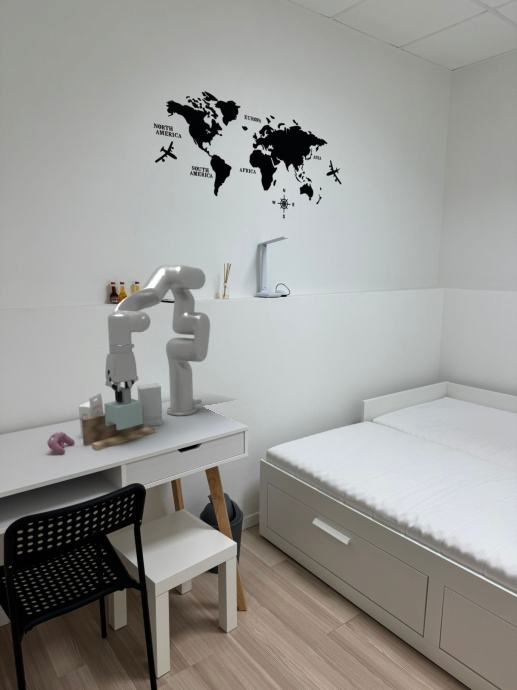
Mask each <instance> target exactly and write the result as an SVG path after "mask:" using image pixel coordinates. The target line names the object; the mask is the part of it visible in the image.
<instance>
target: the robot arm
mask: <svg viewBox="0 0 517 690" xmlns="http://www.w3.org/2000/svg"><path fill="white" fill-rule="evenodd" d="M205 285H206V275H205V272H204V271H203V270H202V269H201V268H198V267H193V266H188V265H182V264H171V265H170V264H165V265H163V264H162V265H160V266H158V267H156V268H155V270H154V272H152V274H151V275H150V277H149V278H148V280H146V282H145V283H144V285H143V286H142V287H141V288H139V289H138V290H136V291H134V292H133V293H131V294H129V295H128V296H126V297H125V298H124V299H122V300H121V301H120V302H119V303H118V304H117V306H116V307H115V309H114V310H113V312H112V313H110V314H108V315H107V329H108V330H107V333H108V351H109V353H107V355H106V359H105V384H104V385H105V386H106V387H109V388H111V389H112V390H113V391H114V396H115V397H114V398H115V399H116V401H117V402H120V403H121V402H122V391H120V390H121V387H122V386H121V383H123V384H124V386H123V387H124V388H128V389H131V390H132V387H133V385H134V384H135V383H136V382H138V380H139V376H138V375H137V374H138V372H137V371H138V370H137V369H138V368H137V363H136V361H137V360H136V356H135V352H134V351H133V349H134V348H135V344H134V343H132V333H143V332H145V331H147V330H148V329H149V328H150V325H151V318H150V316H149V314H148V313H146V312H145V311H142V310H144V309H148V308H152V307H154V306H157V305H159V304H161V303H162V301H163V300H164V298H165V297H166V295H167V293H168V292H169V290H170V292H171V293H172V296H173V302H174V305H173V313H172V314H173V315H172V323H171V325H172V327H171V328H172V331H173V332H174V333H175V334H178V335H185V336H193V337H191V338H189V337H173V338H170V339H169V340H168V341H167V343H166V345H165V353H166V357H167V362H168V371H169V372H168V373H169V399H170V407H168V408H167V409H166V413H167V414H168V415H172V416H177V417H179V416H181V417H182V416H189V415H193V414H195V413H196V412H197V411H198V407H197V405H199V404H202V399H201V398H199V399H194V386H193V385H194V384H193V383H194V382H193V370H192V365H191V364H190V362H192V363H193V362H194V363H202V362H203V361H205V360H206V358H207V355H208V352H209V351H208V350H209V343H210V331H211V323H210V319H209V316H208V315H207V314H206V313H205V312H200V311H199V312H198V311H195V305H196V301H195V297H194V296H193V295H194V294H192V292H191V290H200V289H202V288H203V287H204V286H205Z"/></svg>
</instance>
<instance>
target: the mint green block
mask: <svg viewBox="0 0 517 690" xmlns="http://www.w3.org/2000/svg"><path fill="white" fill-rule="evenodd" d="M120 391H122V402H121V403H120V402H117V401H116V399H115V400H114V401H110V402H105V403H104V414H105V423H106V426H111V425H114V424H116V429H117V430H122V429H125V428H129V427H132V426H136V425H140V424H143V411H142V401H138V400H137V399H134V398H132V388H131V389H128V388H125V387H124V386H121V390H120Z"/></svg>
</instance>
